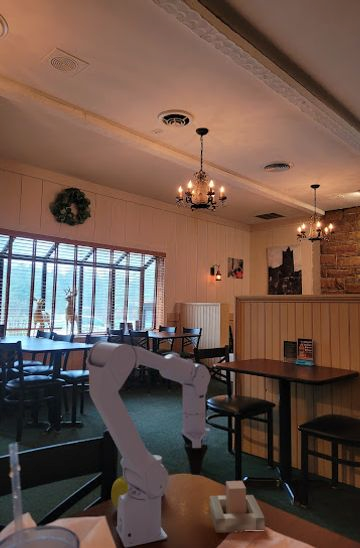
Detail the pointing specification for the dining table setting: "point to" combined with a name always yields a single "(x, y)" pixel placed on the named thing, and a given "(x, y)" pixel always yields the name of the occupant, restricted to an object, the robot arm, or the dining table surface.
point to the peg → (235, 497)
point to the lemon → (118, 490)
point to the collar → (236, 516)
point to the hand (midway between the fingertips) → (194, 467)
